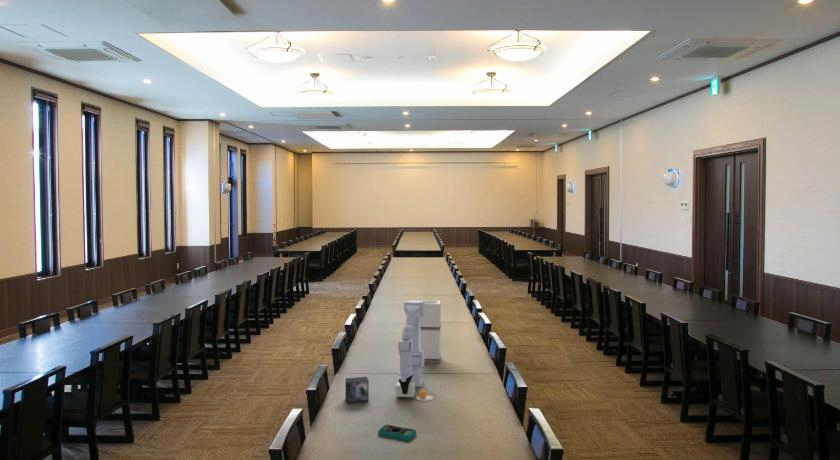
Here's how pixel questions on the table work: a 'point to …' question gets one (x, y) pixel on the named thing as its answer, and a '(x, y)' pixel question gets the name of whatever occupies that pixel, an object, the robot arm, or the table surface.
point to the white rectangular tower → (431, 331)
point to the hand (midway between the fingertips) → (406, 391)
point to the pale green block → (409, 394)
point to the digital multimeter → (397, 432)
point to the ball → (422, 394)
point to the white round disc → (425, 398)
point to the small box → (357, 389)
